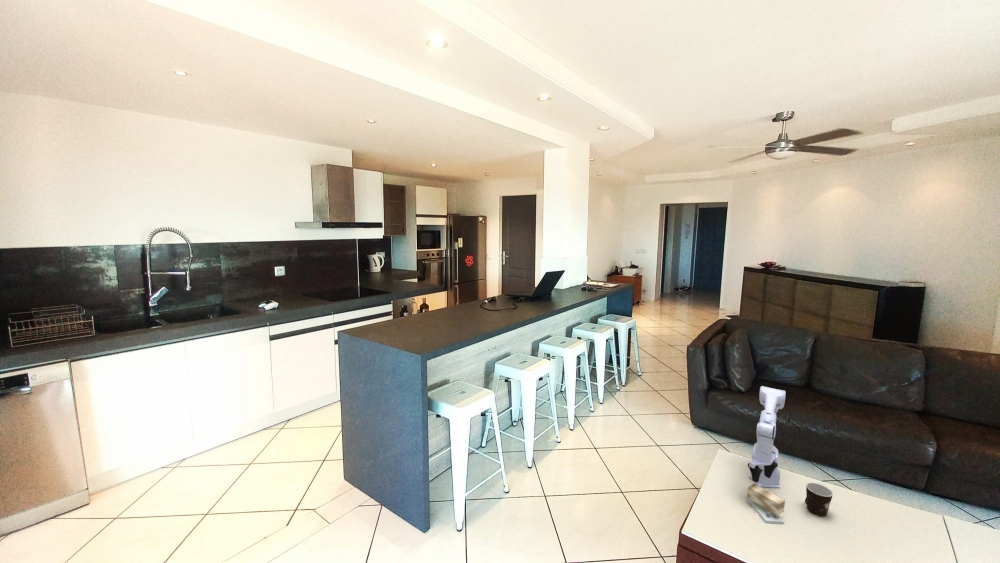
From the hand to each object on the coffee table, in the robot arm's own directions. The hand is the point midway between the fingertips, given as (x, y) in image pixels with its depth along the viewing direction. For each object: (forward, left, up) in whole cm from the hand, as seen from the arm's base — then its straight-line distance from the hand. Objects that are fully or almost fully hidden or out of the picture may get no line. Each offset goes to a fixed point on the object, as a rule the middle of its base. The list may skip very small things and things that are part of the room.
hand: (761, 479), depth 169 cm
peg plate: (+2, +8, -9) cm, 12 cm away
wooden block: (+2, +8, -6) cm, 10 cm away
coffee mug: (-18, +6, -10) cm, 21 cm away
